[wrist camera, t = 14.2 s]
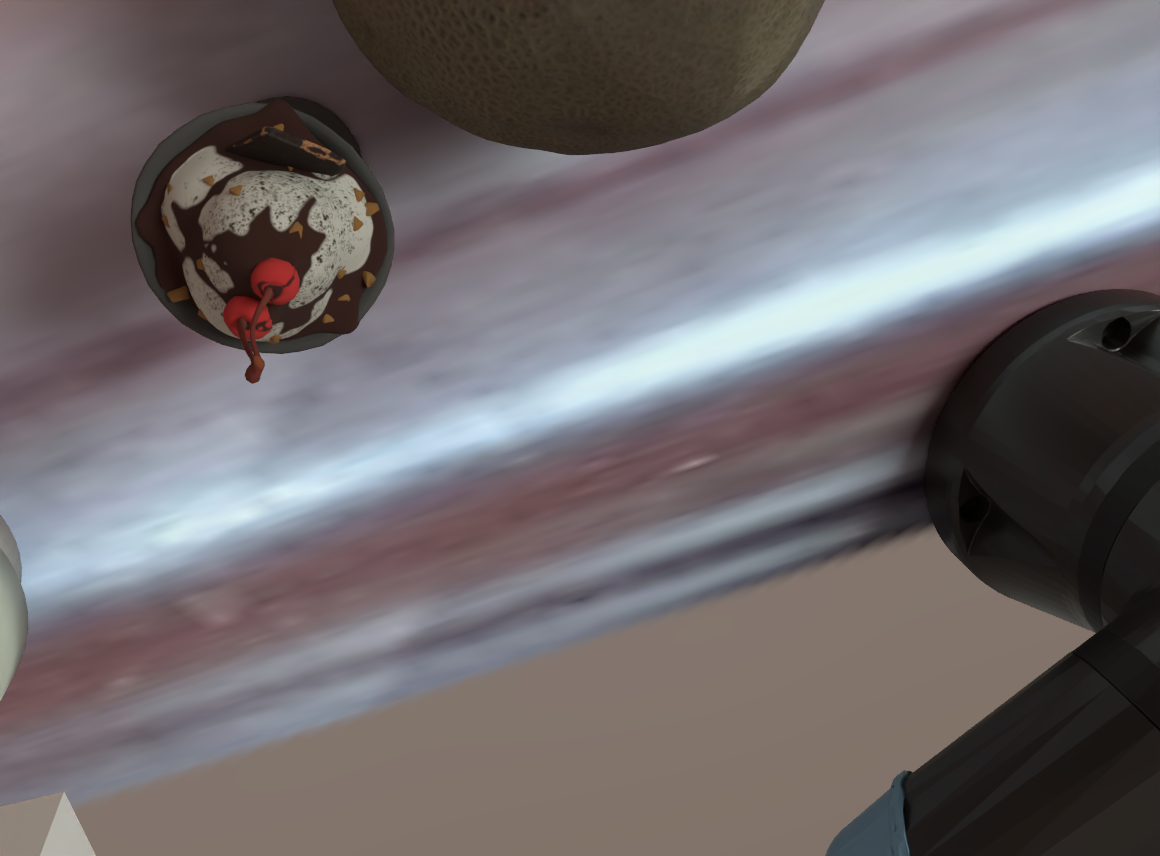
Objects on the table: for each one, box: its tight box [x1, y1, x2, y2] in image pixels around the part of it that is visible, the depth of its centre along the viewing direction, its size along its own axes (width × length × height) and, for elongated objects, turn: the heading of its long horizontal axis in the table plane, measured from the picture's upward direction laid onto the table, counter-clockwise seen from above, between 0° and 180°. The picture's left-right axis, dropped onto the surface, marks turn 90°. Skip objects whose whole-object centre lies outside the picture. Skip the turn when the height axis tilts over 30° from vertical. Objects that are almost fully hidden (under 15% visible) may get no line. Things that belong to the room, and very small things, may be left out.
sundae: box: [131, 97, 394, 384], centre depth 29 cm, size 7×7×15 cm
